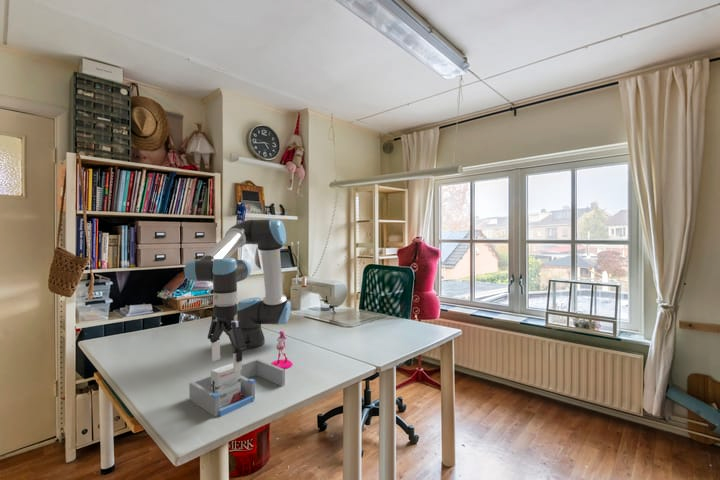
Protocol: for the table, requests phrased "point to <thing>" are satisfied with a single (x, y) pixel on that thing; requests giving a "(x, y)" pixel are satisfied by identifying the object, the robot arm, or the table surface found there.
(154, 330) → the table surface
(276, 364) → the figurine
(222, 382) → the ink box
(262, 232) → the robot arm
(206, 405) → the divided organizer tray
